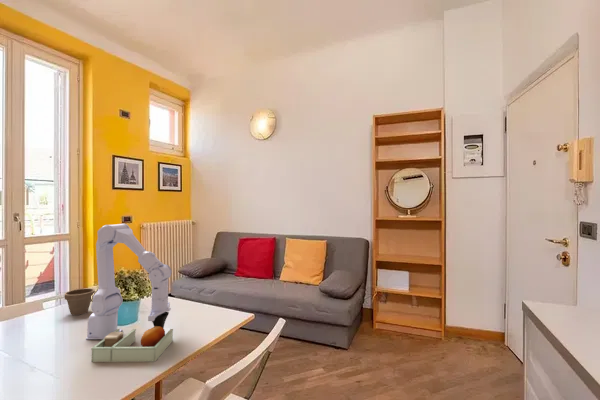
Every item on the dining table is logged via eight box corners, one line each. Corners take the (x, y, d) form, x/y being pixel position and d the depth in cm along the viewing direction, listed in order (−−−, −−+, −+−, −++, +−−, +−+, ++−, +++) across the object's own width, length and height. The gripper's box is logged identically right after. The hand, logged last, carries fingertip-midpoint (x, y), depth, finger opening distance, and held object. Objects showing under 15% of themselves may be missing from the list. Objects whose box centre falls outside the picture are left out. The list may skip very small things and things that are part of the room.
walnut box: (116, 354, 100) (116, 337, 101) (104, 354, 100) (104, 337, 100) (122, 348, 105) (123, 332, 105) (111, 349, 104) (111, 332, 104)
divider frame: (90, 362, 96) (91, 348, 96) (116, 341, 110) (117, 329, 110) (155, 361, 97) (155, 348, 97) (172, 340, 111) (173, 329, 111)
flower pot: (74, 308, 143) (75, 287, 143) (99, 308, 144) (99, 287, 144) (57, 317, 131) (58, 295, 132) (84, 317, 133) (85, 294, 133)
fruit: (160, 349, 102) (150, 328, 103) (143, 358, 103) (133, 338, 104) (174, 338, 110) (164, 319, 111) (157, 347, 111) (148, 328, 112)
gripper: (162, 303, 105) (161, 341, 105) (177, 291, 120) (176, 324, 120) (142, 303, 105) (141, 341, 105) (160, 291, 119) (159, 324, 119)
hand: (159, 332), depth 112 cm, fingers closed
